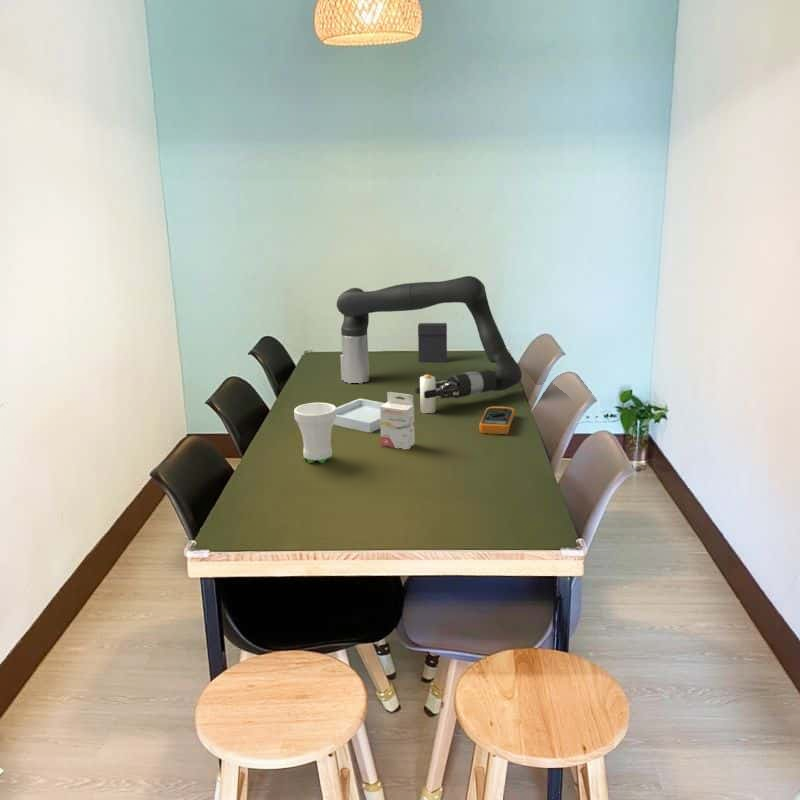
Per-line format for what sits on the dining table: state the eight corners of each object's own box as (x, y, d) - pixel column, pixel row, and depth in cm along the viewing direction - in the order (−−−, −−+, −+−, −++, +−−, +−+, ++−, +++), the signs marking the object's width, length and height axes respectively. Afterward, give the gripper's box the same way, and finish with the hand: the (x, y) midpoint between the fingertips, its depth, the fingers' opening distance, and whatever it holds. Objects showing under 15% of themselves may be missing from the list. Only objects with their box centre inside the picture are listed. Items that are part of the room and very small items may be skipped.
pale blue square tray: (323, 422, 241) (323, 413, 240) (360, 407, 255) (359, 398, 254) (369, 432, 231) (369, 423, 230) (405, 416, 245) (405, 407, 244)
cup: (305, 469, 205) (302, 417, 201) (291, 456, 214) (287, 406, 210) (345, 461, 210) (343, 410, 206) (329, 448, 219) (326, 400, 215)
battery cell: (417, 412, 249) (416, 376, 245) (426, 408, 253) (425, 372, 249) (430, 414, 246) (429, 378, 243) (438, 410, 250) (438, 374, 246)
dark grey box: (447, 359, 312) (446, 322, 307) (446, 362, 308) (446, 324, 303) (419, 359, 313) (418, 322, 308) (418, 362, 309) (417, 324, 304)
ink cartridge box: (380, 446, 220) (378, 395, 216) (387, 440, 225) (386, 391, 220) (408, 450, 217) (407, 399, 212) (415, 444, 221) (414, 394, 217)
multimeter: (514, 417, 243) (515, 406, 242) (508, 436, 226) (508, 425, 225) (487, 415, 245) (487, 405, 244) (478, 435, 228) (478, 423, 227)
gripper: (453, 368, 259) (408, 376, 251) (478, 378, 247) (432, 386, 239) (453, 390, 261) (409, 398, 253) (478, 401, 249) (432, 410, 241)
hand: (420, 392), depth 246 cm, fingers closed on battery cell, 4 cm apart
